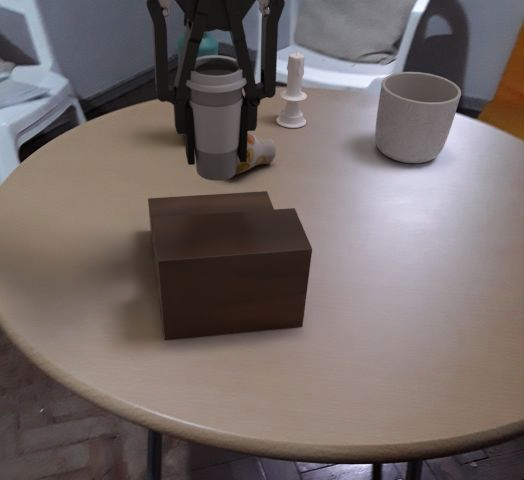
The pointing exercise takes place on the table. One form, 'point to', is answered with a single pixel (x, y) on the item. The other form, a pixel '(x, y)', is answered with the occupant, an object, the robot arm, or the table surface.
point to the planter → (415, 115)
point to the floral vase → (257, 153)
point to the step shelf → (228, 264)
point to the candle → (293, 93)
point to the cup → (216, 115)
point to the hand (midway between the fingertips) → (216, 157)
